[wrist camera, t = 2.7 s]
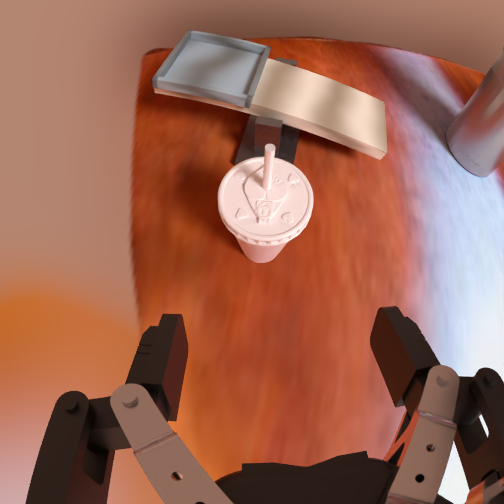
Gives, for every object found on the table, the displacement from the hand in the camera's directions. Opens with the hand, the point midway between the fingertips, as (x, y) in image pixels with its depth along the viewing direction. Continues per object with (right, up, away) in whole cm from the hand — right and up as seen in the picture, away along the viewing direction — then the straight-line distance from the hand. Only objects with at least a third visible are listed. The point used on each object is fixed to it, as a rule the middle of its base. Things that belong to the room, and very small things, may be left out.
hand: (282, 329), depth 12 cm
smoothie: (0, +4, +17) cm, 17 cm away
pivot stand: (+1, +18, +21) cm, 28 cm away
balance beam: (+2, +20, +17) cm, 26 cm away
